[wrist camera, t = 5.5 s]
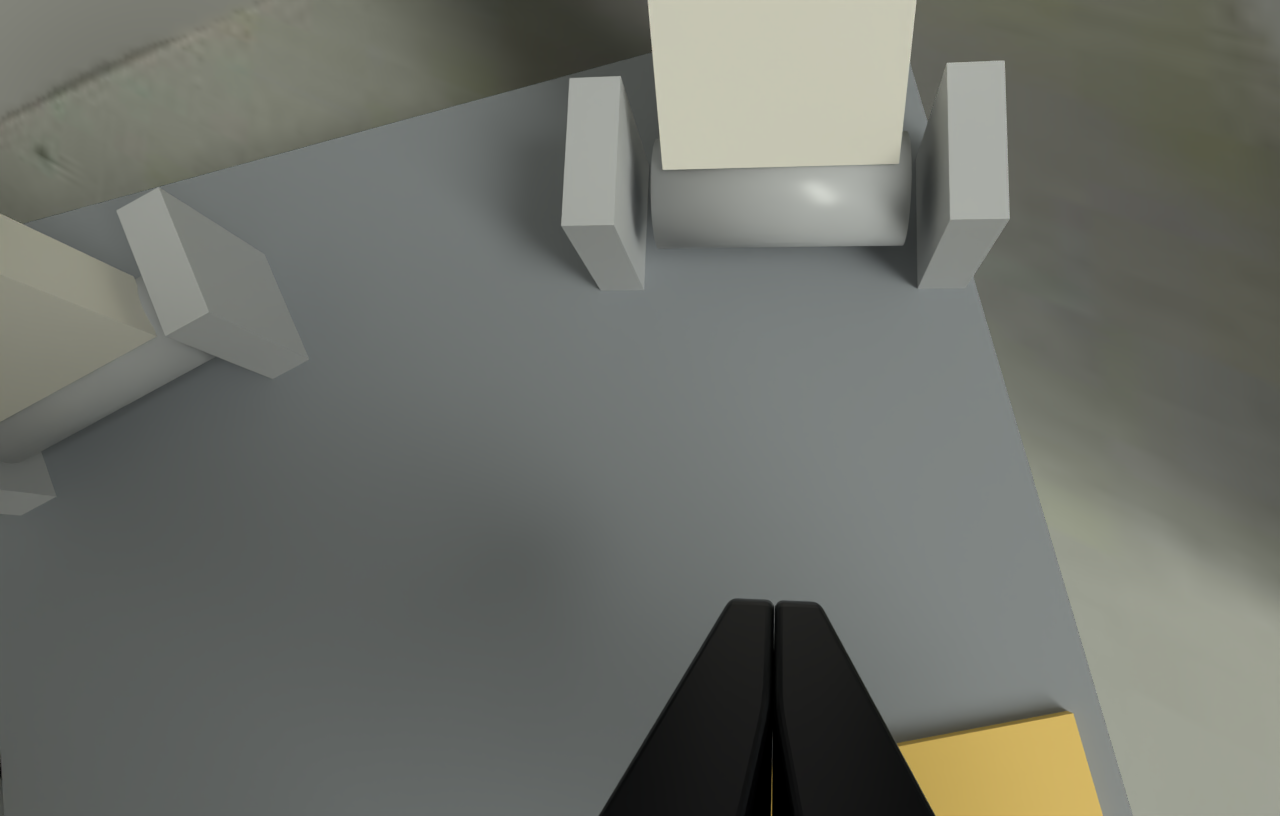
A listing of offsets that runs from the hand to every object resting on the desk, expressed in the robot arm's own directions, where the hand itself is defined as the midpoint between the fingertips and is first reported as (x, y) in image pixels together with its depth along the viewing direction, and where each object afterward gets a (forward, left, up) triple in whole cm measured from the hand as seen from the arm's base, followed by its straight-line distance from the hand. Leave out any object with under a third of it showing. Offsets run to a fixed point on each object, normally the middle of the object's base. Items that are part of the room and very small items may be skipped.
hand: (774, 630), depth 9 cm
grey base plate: (+2, +5, -9) cm, 10 cm away
